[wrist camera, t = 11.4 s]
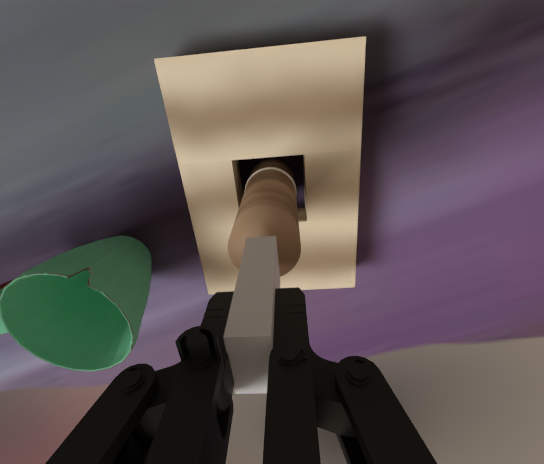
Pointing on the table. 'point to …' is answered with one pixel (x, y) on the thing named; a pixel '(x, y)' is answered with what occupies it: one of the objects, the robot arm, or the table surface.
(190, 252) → the table surface
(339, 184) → the board
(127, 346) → the mug
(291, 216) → the peg
